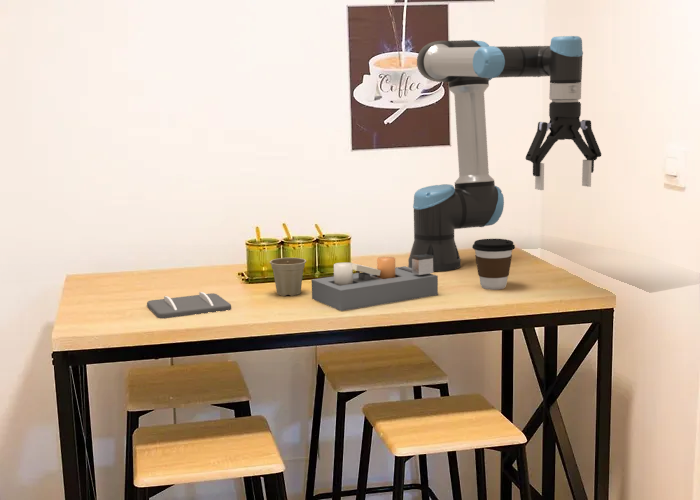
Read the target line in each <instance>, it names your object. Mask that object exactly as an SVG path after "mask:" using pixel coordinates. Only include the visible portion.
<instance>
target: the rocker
mask: <svg viewBox="0 0 700 500" xmlns="http://www.w3.org/2000/svg"><path fill="white" fill-rule="evenodd" d="M348 263H352V269H353V271H356V272H360V273H361V272H365V273H370V274H374V275H378V276H380V272H381V270H378V269H377V268H374V267H371V266H368V265H362V264H358V263H353V262H348Z"/></svg>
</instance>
